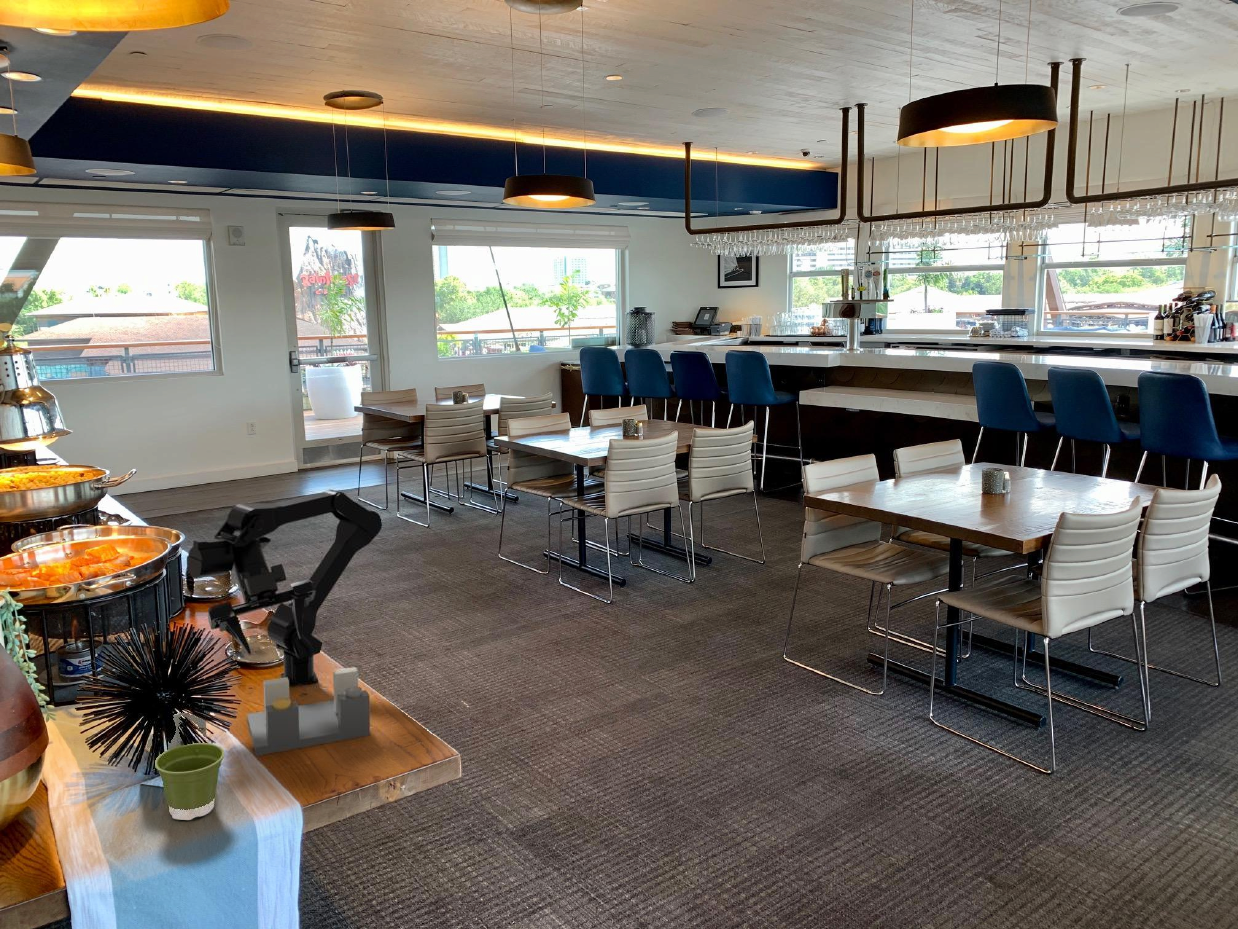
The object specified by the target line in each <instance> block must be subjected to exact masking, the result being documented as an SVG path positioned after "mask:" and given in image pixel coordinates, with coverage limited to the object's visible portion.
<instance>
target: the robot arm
mask: <svg viewBox="0 0 1238 929" xmlns="http://www.w3.org/2000/svg"><path fill="white" fill-rule="evenodd" d="M325 514H331V515H332V516H333V517H334V518H335V519H337V520H338V521H339V522H338V523H337V526H336V532H335V540H334V542H333V543H332V545H331V547H330V548H329V549H328V551H327V553H326V554H325V555H324V557H323V559H321V561H320V563H319V564H318V566H317V567H316V569H315V570H314V572H313V574H311V576H310V578H307V579H304V580H301V581H297V582H293V583H290V587H289V590H286V591H281V592H279V593H277V592H278V589H279V588H278V583H281V582H284V581H287V576H286V573H285V570H284V569H285V568H284V566H283V564H282V563H280V564H276V565H272V566H271V567H270V569H269V566H268V563H267V560H266V556H265V554H264V549H265V548H266V547H267V546H268V545H269V544H270V543H271V542H272V539H271V538H269V537H266V536H267V535H269V534H272V533H273V532H275V531H277V529H279V528H280V527H282V526H284V525H287V524H290V523H295V522H298V521H303V520H306V519H310V518H314V517H315V518H316V517H318V516H322V515H325ZM382 528H383V523H382V517H381V515H380V514H379V513H378V512H376V511H375V510H371V509H367V508H366V507H365V506H363V505H361V504H359V503H357V502H356V501H354V500H353V499H352V498H350V497H348V496H347V494H346V493H344V492H342V491H338V490H334V489H327V490H325V491H321V492H318V493H314V494H310V495H305V496H302V497H296V498H292V499H288V500H283V501H279V502H276V503H261V502H260V503H259V502H255V503H253V502H252V503H239V504H236V505H234V506H233V507H232V508H231V510H230V511H229V513H228V515H227V519H226V520H225V521H224V523H223V524H222V526H221V527H220V528H219V529H218V531H217V532H216V534H215V535H214V537H213V539H206V540H205V539H204V540H203V539H194V540H193V541H192V542H193V544H192V547H191V548H190V549H189V551H188V555H187V556H186V565H187V567H186V568H187V570H188V573H189V574H190V576H191V577H192V578H193V579H200V578H206V577H214V576H223V575H227V574H229V572H230V571H231V572H232V571H233V569H234V573H235V576H236V580H237V582H238V586H239V589H240V592H241V595H242V599H243V602H244V603H240V604H237V605H232V602H231V601H226V602H222V603H218V604H214V605H212V606H211V605H210V607H209V609H208V610H207V620H208V623H209V627H210V630H217V629H218V630H219V632H222V633H223V632H227V633H228V635H230V636H231V637H232V638H233V639H234V640H235V641H236V642H237V643H238V644H239V645H240V647H241V648H242V649H243V650H244V652H245V653H246V654H247V655H248V656H251V655H252V651H251V648H250V645H249V643H248V640H247V638H246V636H245V634H244V631H243V629H242V627H241V624H240V622H239V619H238V617H239V616H242V615H245V614H248V613H253V612H255V611H258V610H263V609H266V608H269V607H273V606H276V605H278V606H277V608H276V609H275V612H274V613H273V615H272V616H271V617H269V618H268V621H270V622H269V624H268V625H267V628H266V629H267V630H266V631H267V636H268V638H269V640H270V641H271V642H273V643H274V644H275V646H276V648H277V649H279V650H282V651H283V672H281V673H280V674H279V676H280V678H285V677H287V678H288V680H289V688H290V687H295V686H296V687H298V686H303V685H309V684H316V683H319V678H318V677H317V674H316V672H315V669H314V667H315V666H314V661H315V660H314V656H315V655H318V654H320V653H321V650H322V647H323V642H322V641H321V640H319V639H318V638H317V637H315V636H314V635H313V632H314V630H315V629H316V624H317V623H316V622H317V614H318V613H319V612H318V611H319V610H320V608H321V607H322V605H323V604H324V602H325V601H326V599H327V598H328V596H329V594H330V593H331V591H332V590H333V588H335V585H336V584H337V583H338V581H339V580H340V578H341V576H342V574H343V573H344V572H345V570H346V568H347V567H348V565H349V564H350V563H351V561H352V559H353V558H354V556H355V555H356V554H357V552H359V551H360V550H362V549H363V548H365V547H367V546H368V545H370V544H371V543H372V542H373V540H374V539H375V538H376V537H377V536H378V535H379V533H380V532H381V530H382ZM236 534H238V535H236ZM289 601H290V603H289V604H286V603H287V602H289Z"/></svg>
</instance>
